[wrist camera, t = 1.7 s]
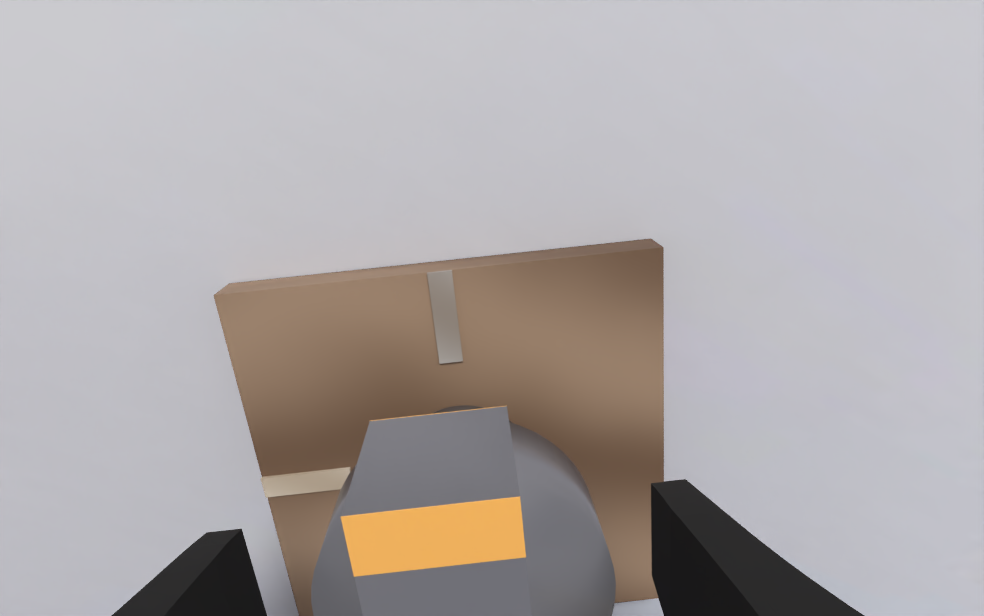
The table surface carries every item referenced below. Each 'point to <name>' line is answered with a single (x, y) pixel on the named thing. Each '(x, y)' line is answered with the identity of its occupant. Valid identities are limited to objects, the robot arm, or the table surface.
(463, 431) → the twist knob
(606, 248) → the knob base
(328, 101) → the table surface
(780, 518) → the table surface
